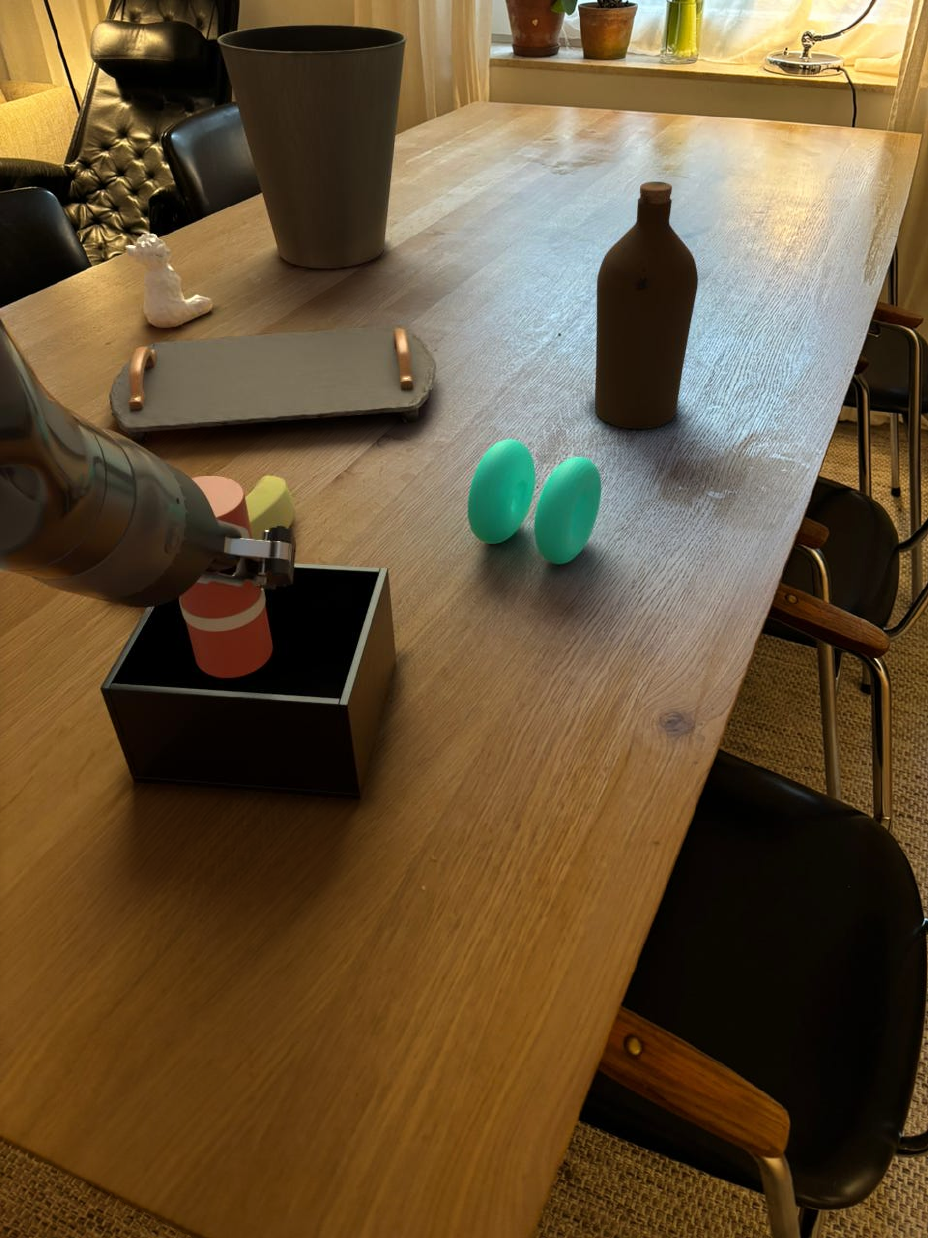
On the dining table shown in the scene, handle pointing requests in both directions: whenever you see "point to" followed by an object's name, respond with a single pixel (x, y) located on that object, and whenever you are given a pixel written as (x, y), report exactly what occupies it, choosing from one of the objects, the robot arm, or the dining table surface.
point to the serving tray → (272, 379)
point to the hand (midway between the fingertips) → (229, 570)
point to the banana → (269, 505)
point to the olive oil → (644, 317)
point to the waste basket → (320, 133)
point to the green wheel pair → (509, 493)
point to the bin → (263, 692)
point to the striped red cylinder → (227, 602)
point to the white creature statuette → (164, 286)
